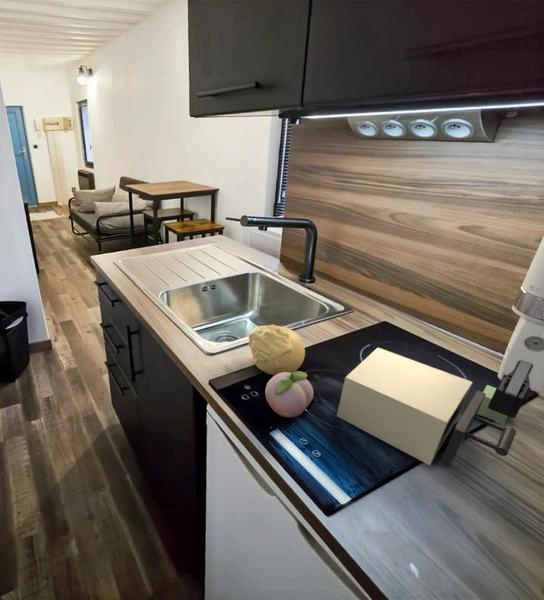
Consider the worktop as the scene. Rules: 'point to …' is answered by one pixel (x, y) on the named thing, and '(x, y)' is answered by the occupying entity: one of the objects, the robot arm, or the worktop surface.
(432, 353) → the worktop surface
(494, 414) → the block
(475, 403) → the dark grey drawer
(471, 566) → the worktop surface
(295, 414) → the decorative fruit
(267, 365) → the tan lumpy ball
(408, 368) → the cream rectangular box
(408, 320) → the worktop surface
